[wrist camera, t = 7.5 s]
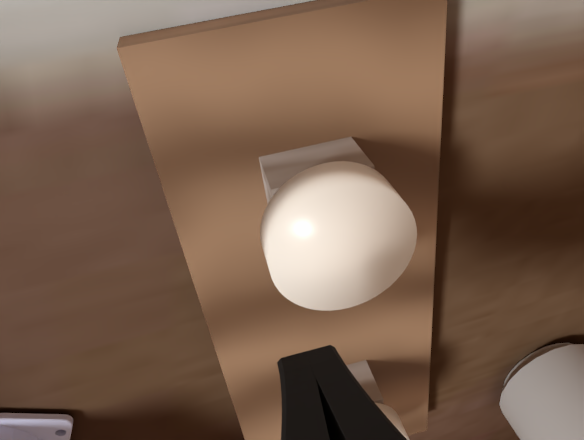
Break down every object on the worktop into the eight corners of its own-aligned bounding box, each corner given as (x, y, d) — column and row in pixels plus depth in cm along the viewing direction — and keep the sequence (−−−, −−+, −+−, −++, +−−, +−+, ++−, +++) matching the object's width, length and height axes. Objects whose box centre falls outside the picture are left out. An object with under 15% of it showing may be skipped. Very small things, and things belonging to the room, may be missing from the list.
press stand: (417, 410, 32) (445, 467, 29) (254, 457, 31) (265, 522, 28) (427, -21, 18) (488, -3, 14) (120, 37, 16) (110, 71, 13)
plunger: (375, 227, 21) (415, 290, 18) (260, 255, 20) (280, 325, 17) (370, 118, 18) (418, 168, 15) (237, 147, 18) (256, 206, 14)
